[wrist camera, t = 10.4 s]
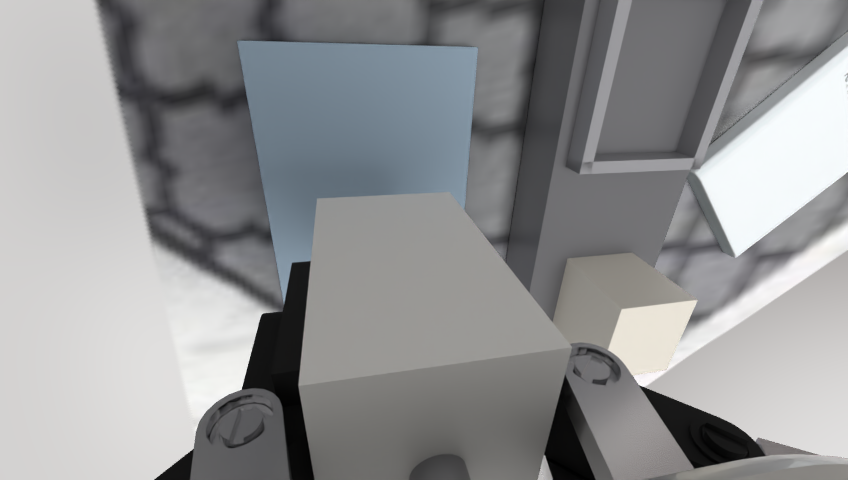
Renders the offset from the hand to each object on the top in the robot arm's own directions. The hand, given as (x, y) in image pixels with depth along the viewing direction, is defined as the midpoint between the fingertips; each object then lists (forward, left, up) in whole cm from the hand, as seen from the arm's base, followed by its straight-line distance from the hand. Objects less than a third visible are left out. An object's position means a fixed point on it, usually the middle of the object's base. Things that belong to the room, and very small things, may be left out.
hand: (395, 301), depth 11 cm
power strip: (-4, +11, -8) cm, 14 cm away
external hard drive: (-2, +25, -9) cm, 26 cm away
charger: (0, 0, -2) cm, 2 cm away
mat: (0, 0, -8) cm, 8 cm away
